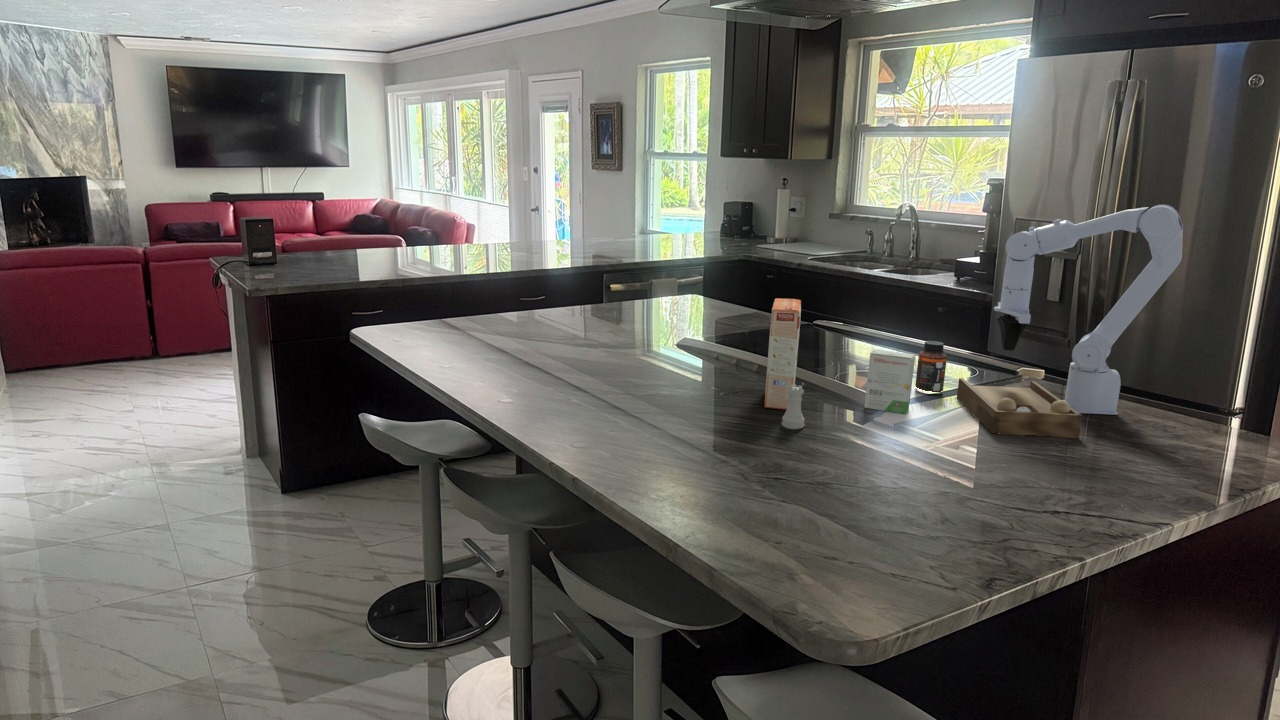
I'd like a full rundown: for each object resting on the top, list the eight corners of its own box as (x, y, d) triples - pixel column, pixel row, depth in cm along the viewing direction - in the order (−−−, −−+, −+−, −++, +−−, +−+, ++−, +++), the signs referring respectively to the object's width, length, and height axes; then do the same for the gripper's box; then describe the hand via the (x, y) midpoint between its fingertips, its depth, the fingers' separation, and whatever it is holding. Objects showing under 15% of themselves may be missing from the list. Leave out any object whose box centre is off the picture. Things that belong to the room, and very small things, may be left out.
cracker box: (793, 411, 174) (800, 310, 169) (763, 408, 175) (770, 308, 170) (795, 392, 188) (802, 298, 182) (767, 390, 189) (773, 296, 184)
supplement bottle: (944, 396, 188) (950, 346, 185) (916, 394, 189) (921, 344, 186) (940, 389, 193) (946, 340, 190) (913, 387, 194) (918, 338, 192)
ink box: (863, 408, 178) (869, 353, 175) (868, 402, 182) (873, 348, 179) (906, 414, 174) (912, 358, 171) (910, 408, 179) (916, 353, 176)
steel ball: (1028, 411, 172) (1034, 404, 169) (1029, 427, 171) (1035, 420, 168) (1011, 409, 173) (1016, 403, 170) (1012, 425, 171) (1017, 418, 168)
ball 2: (1064, 415, 166) (1066, 398, 166) (1071, 420, 163) (1074, 403, 162) (1046, 414, 167) (1048, 397, 166) (1053, 419, 163) (1055, 402, 163)
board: (1031, 401, 186) (1034, 381, 185) (1078, 438, 163) (1082, 415, 161) (956, 398, 187) (959, 378, 186) (992, 434, 164) (995, 411, 162)
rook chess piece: (806, 424, 166) (809, 384, 164) (802, 431, 162) (805, 390, 160) (783, 421, 168) (786, 382, 166) (779, 428, 164) (781, 388, 162)
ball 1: (1011, 412, 167) (1013, 396, 166) (1017, 418, 164) (1020, 401, 163) (993, 411, 167) (995, 395, 166) (999, 417, 164) (1001, 400, 163)
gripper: (986, 282, 191) (979, 341, 195) (1009, 293, 177) (1000, 356, 181) (1019, 283, 191) (1011, 342, 194) (1044, 294, 177) (1035, 358, 180)
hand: (1008, 349), depth 187 cm, fingers closed
